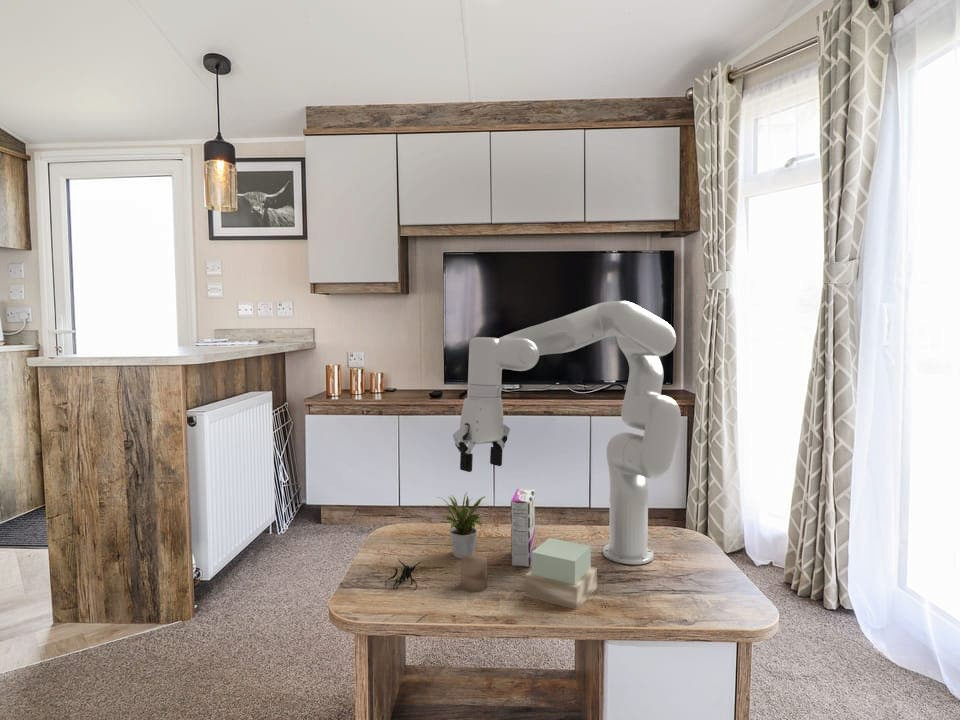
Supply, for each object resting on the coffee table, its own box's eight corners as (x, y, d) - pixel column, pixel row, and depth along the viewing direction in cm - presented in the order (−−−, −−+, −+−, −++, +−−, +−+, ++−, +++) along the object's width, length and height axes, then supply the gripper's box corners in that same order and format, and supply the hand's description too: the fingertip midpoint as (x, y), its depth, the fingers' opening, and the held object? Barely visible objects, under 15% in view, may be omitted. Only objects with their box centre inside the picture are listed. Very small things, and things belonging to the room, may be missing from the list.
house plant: (425, 564, 142) (425, 499, 141) (436, 543, 156) (436, 484, 155) (483, 567, 140) (483, 501, 140) (488, 546, 154) (489, 486, 153)
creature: (411, 599, 126) (426, 577, 133) (409, 578, 125) (424, 557, 132) (380, 594, 129) (396, 572, 136) (377, 573, 127) (394, 552, 135)
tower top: (549, 558, 134) (549, 537, 134) (590, 567, 129) (590, 546, 129) (531, 574, 125) (531, 552, 125) (574, 584, 120) (575, 561, 120)
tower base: (548, 577, 136) (548, 556, 136) (596, 589, 129) (597, 567, 129) (524, 597, 126) (525, 575, 125) (576, 611, 119) (576, 588, 119)
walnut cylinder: (469, 578, 134) (469, 553, 134) (491, 584, 131) (492, 558, 131) (455, 587, 129) (455, 561, 129) (477, 594, 126) (477, 567, 126)
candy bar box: (516, 549, 152) (516, 488, 151) (535, 550, 151) (535, 489, 150) (509, 566, 141) (510, 500, 140) (530, 568, 140) (530, 501, 139)
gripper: (497, 389, 138) (495, 460, 139) (444, 392, 126) (441, 470, 126) (521, 392, 133) (518, 465, 133) (468, 395, 120) (465, 476, 121)
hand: (481, 467), depth 130 cm, fingers open, 9 cm apart
